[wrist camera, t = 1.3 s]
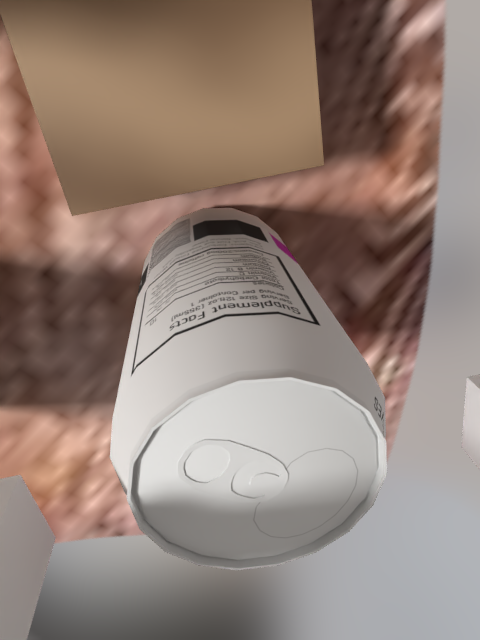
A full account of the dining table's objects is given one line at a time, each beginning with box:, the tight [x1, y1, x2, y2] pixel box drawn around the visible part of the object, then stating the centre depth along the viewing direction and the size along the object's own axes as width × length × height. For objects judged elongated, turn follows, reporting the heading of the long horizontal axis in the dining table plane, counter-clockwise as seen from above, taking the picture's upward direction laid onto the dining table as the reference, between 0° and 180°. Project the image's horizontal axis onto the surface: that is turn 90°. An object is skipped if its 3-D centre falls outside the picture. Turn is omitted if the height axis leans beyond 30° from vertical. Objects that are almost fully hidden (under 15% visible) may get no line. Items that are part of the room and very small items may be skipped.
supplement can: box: [110, 208, 387, 570], centre depth 18 cm, size 8×8×15 cm
